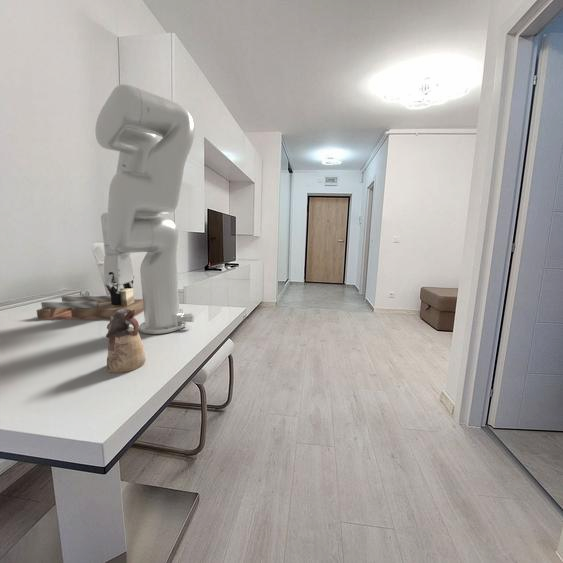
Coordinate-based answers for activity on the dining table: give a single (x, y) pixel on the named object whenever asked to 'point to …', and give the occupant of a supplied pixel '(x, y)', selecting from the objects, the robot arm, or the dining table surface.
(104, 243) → the robot arm
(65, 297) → the trap deck
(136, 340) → the figurine
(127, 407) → the dining table surface
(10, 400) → the dining table surface
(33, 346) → the dining table surface
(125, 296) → the block
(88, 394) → the dining table surface
